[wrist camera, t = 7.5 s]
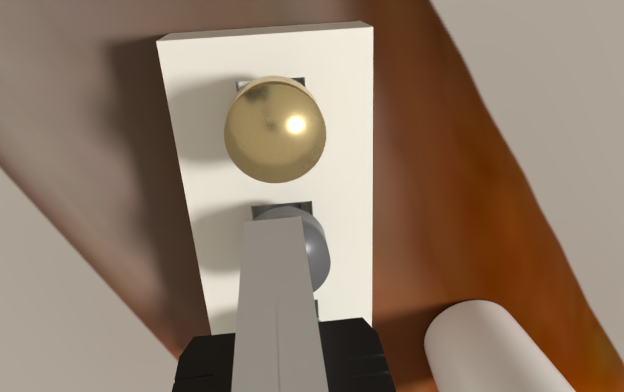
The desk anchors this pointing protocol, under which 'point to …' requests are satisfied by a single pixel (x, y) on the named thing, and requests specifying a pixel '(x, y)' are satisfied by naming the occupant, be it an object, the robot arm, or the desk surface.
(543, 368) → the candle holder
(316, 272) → the knob mid
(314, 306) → the robot arm
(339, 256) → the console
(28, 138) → the desk surface
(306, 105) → the knob
